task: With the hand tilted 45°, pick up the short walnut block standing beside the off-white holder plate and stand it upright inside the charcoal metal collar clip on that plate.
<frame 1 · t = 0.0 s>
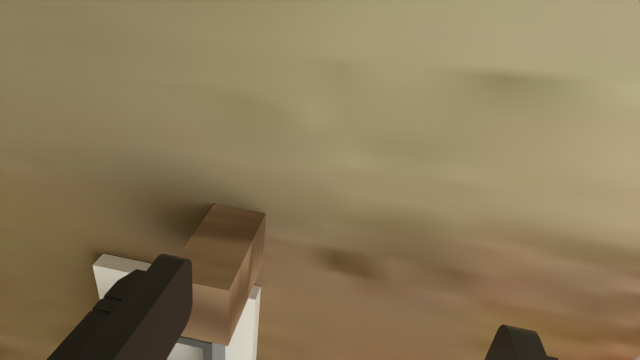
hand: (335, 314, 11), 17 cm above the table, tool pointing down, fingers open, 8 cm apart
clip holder: (184, 325, 39), on the table
walnut block: (239, 234, 33), on the table
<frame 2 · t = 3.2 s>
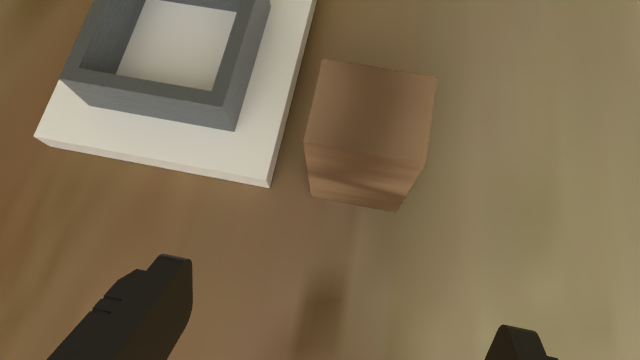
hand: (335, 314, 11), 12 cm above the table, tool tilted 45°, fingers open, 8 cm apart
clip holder: (191, 68, 28), on the table
walnut block: (359, 172, 25), on the table
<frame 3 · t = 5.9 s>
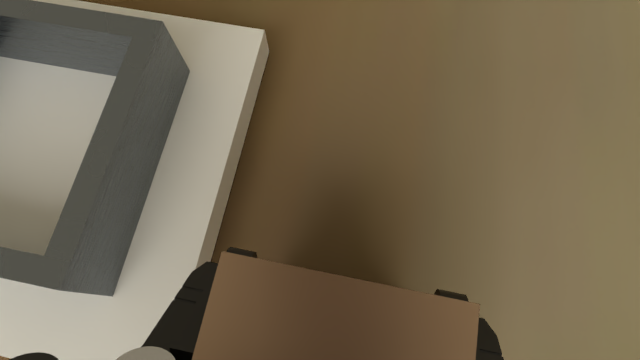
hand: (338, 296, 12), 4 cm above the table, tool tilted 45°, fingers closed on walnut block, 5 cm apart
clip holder: (66, 166, 17), on the table
walnut block: (327, 355, 15), on the table, touching gripper
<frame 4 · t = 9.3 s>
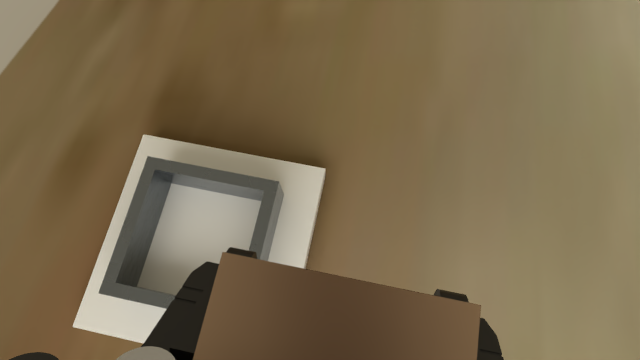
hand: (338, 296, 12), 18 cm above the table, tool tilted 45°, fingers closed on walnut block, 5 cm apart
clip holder: (211, 247, 30), on the table
walnut block: (327, 355, 15), point 14 cm above the table, touching gripper
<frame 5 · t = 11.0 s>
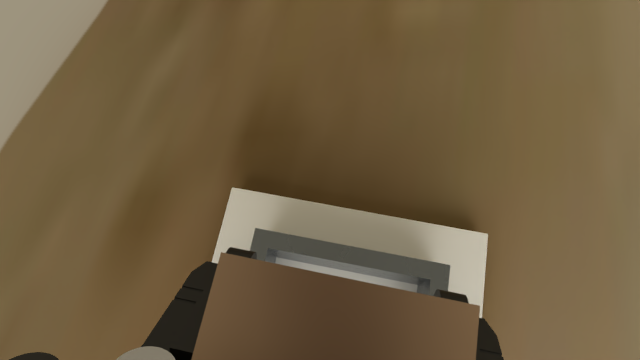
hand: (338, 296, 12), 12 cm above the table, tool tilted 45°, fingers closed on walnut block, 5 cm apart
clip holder: (332, 344, 22), on the table
walnut block: (326, 355, 15), point 7 cm above the table, touching gripper
when the fingers open (7 cm above the table, at t = 12.5 s): walnut block stays where it is, resting on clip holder.
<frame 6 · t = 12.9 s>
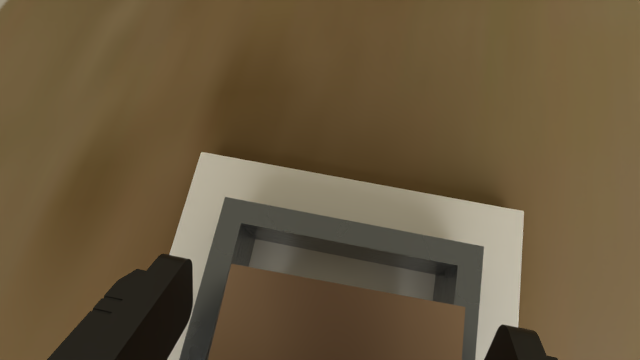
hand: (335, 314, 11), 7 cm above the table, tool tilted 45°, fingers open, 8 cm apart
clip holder: (326, 350, 17), on the table
walnut block: (328, 355, 16), point 1 cm above the table, touching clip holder
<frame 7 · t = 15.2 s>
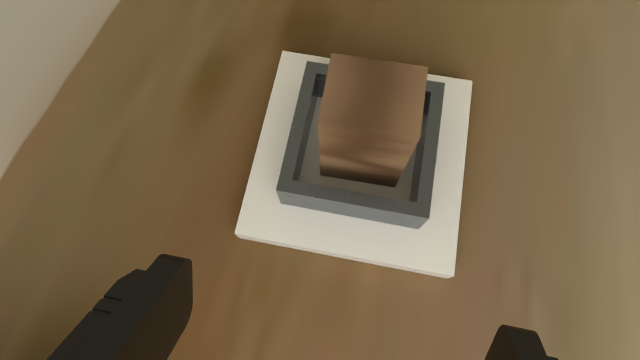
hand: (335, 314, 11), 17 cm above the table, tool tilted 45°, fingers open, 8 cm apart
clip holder: (358, 160, 30), on the table
walnut block: (361, 153, 29), point 1 cm above the table, touching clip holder
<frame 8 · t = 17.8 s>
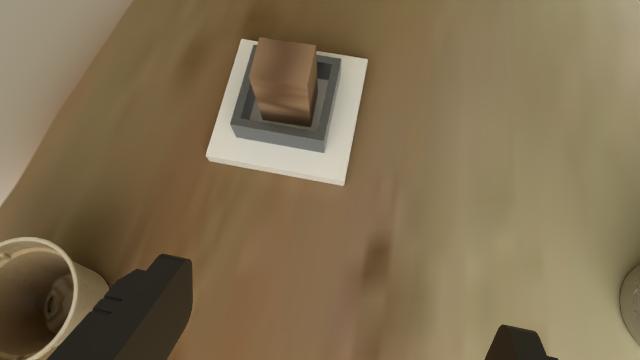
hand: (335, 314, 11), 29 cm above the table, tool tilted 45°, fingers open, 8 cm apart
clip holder: (291, 112, 45), on the table
flower pot: (80, 304, 39), on the table
walnut block: (290, 106, 43), point 1 cm above the table, touching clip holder
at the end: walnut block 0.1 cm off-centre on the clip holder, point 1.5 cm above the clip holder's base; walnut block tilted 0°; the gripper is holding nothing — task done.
